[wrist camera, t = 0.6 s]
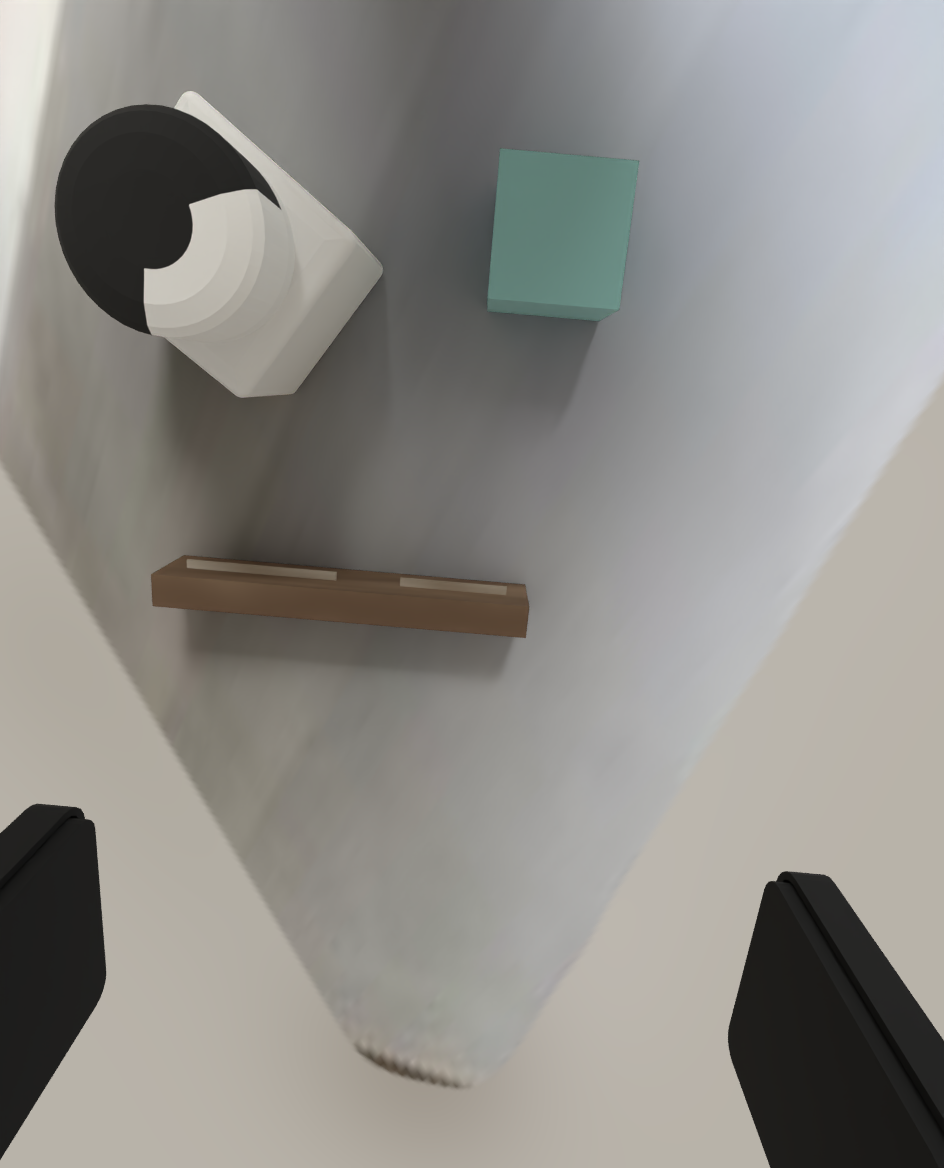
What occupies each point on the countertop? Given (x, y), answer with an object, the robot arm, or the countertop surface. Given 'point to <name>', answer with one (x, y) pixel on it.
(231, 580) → the walnut fence
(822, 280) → the countertop surface
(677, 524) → the countertop surface
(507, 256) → the teal block
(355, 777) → the countertop surface
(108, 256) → the medicine bottle
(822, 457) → the countertop surface
